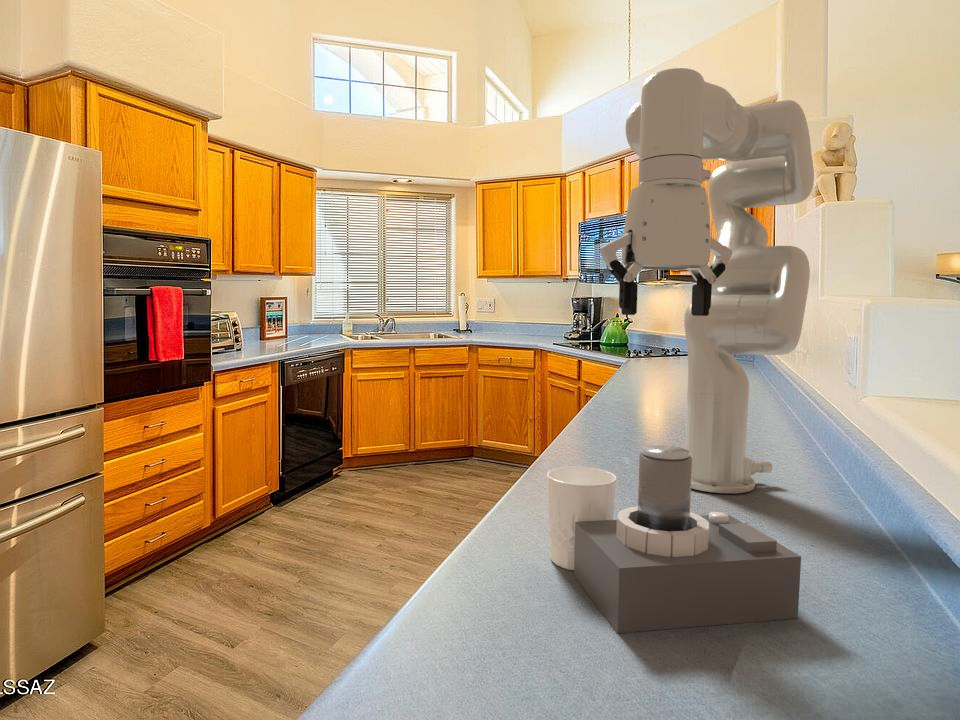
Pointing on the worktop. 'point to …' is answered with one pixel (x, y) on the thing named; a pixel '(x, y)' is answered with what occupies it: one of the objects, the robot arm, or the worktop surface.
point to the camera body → (685, 573)
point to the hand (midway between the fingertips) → (664, 315)
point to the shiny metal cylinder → (664, 488)
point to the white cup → (576, 506)
